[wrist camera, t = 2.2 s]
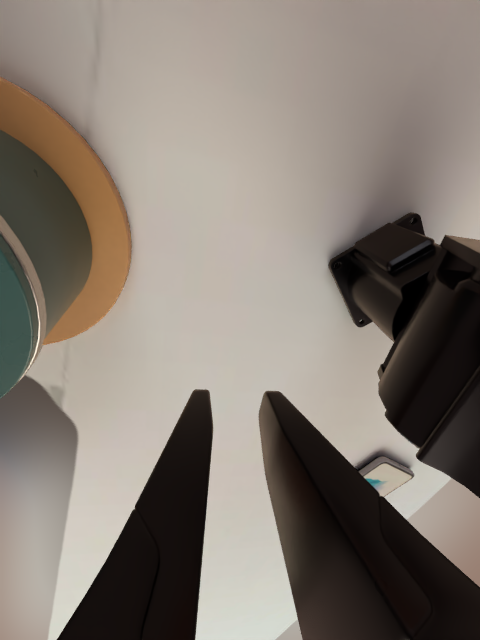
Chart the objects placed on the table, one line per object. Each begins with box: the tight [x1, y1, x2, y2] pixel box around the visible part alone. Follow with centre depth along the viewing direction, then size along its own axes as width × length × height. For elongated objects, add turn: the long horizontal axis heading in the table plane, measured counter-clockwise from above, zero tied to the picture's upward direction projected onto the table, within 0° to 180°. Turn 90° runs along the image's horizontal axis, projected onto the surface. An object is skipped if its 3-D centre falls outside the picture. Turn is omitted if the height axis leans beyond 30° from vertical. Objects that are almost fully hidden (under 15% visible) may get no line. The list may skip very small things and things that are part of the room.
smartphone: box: [358, 456, 414, 497], centre depth 37 cm, size 7×1×15 cm
